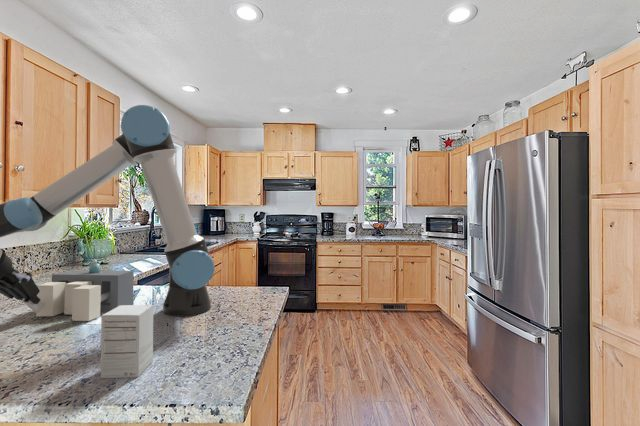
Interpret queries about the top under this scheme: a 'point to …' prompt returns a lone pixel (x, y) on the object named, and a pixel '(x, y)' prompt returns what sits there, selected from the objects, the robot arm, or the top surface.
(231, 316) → the top surface
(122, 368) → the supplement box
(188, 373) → the top surface
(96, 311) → the knob
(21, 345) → the top surface
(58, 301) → the knob
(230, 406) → the top surface
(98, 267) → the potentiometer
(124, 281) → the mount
